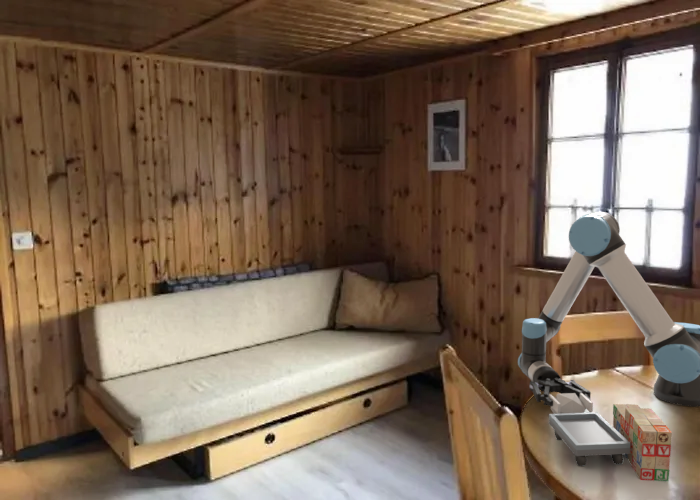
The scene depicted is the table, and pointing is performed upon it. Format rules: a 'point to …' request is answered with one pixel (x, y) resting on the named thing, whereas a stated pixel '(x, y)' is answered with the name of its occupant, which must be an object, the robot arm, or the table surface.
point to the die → (569, 403)
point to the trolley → (589, 436)
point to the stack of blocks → (644, 440)
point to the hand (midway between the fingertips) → (575, 408)
